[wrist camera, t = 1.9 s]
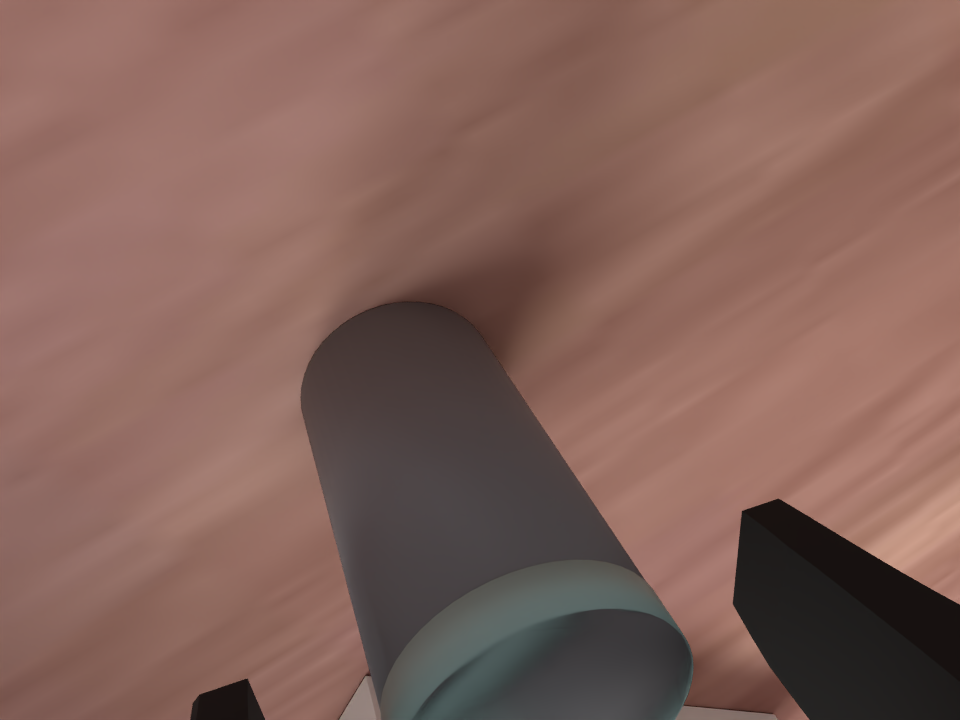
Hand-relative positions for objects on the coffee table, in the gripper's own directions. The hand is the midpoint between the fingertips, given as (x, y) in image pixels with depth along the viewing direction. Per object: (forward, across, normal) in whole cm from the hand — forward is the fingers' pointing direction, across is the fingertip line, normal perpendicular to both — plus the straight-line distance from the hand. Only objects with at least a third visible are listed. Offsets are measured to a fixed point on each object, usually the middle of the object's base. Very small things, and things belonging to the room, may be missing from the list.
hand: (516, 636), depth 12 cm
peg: (+7, 0, 0) cm, 7 cm away
